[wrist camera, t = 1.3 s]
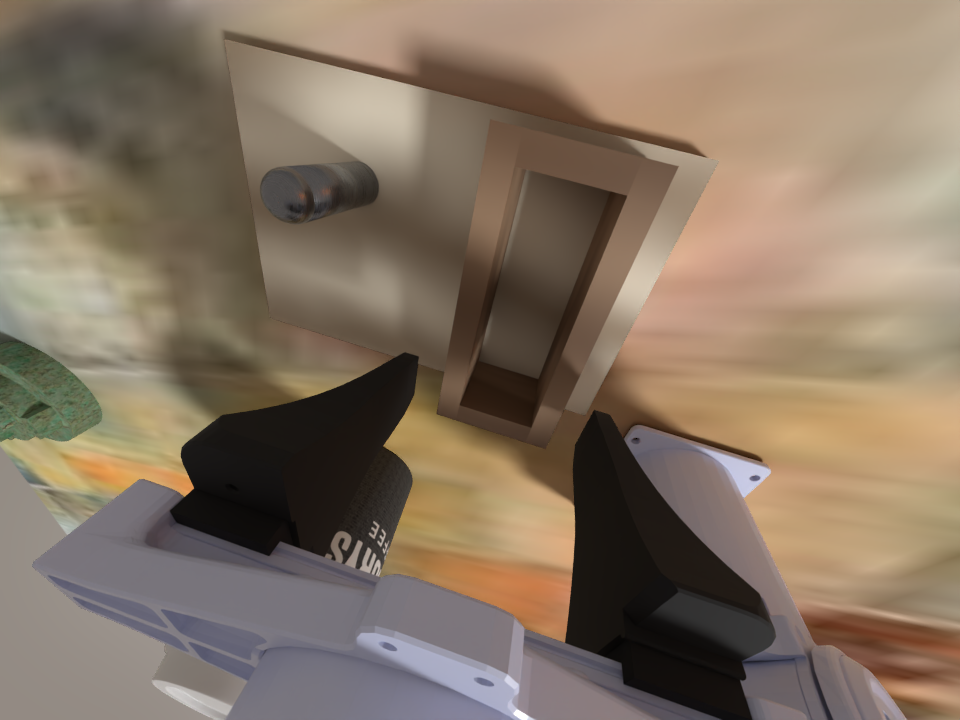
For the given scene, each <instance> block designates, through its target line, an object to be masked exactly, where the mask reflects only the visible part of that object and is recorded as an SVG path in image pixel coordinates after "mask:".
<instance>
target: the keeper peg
mask: <svg viewBox="0 0 960 720" xmlns="http://www.w3.org/2000/svg"><path fill="white" fill-rule="evenodd" d="M378 192H379V183H378V179H377V177H376V175H375V173H374V171H373V170H372V169H371V168H370V167H369V166H368V165H367V164H365V163H363V162H359V161H353V162H339V163H324V164H310V165H296V166H282V167H276V168H273V169H271V170H270V171H268V172H267V173H266V174H265V175H264V177H263V178H262V180H261V184H260V195H261V199H262V202H263V204H264V206H265V207H266V209H267V210H268V211H269V212H270V213H271V214H272V215H273V216H274V217H276V218H277V219H279V220H280V221H282V222H285V223H288V224H296V225H298V224H304V223H307V222H311V221H314V220H317V219H321V218H324V217H328V216H331V215H335V214H338V213H342V212H345V211H349V210H352V209H355V208H359V207H362V206H366V205H369V204H371V203H373V202H374V201H375V200H376V198H377V196H378Z"/></svg>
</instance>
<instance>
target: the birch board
mask: <svg viewBox="0 0 960 720" xmlns="http://www.w3.org/2000/svg"><path fill="white" fill-rule="evenodd" d="M224 42H225V48H226V54H227V60H228V66H229V72H230V78H231V84H232V90H233V96H234V102H235V108H236V114H237V120H238V126H239V132H240V138H241V144H242V150H243V156H244V163H245V169H246V175H247V181H248V187H249V193H250V199H251V205H252V211H253V217H254V223H255V229H256V235H257V241H258V247H259V253H260V259H261V265H262V271H263V277H264V283H265V290H266V296H267V302H268V308H269V314H270V318H271V319H275V320H278V321H281V322H284V323H288V324H291V325H294V326H297V327H300V328H304V329H307V330H310V331H313V332H317V333H320V334H323V335H326V336H329V337H333V338H336V339H339V340H342V341H346V342H349V343H352V344H355V345H358V346H362V347H365V348H368V349H371V350H375V351H378V352H381V353H384V354H387V355H391V356H394V357H397V356H398V355H400V354H402V353H404V352H406V353H409V354H413V355H416V356H419V360H418V364H420V365H423V366H426V367H429V368H433V369H436V370H439V371H442V372H444V371H445V365H446V360H447V354H448V349H449V343H450V338H451V332H452V327H453V321H454V316H455V310H456V305H457V299H458V294H459V288H460V283H461V277H462V272H463V266H464V261H465V255H466V250H467V244H468V239H469V233H470V228H471V222H472V217H473V211H474V206H475V200H476V195H477V189H478V184H479V178H480V173H481V167H482V162H483V156H484V151H485V145H486V140H487V135H488V129H489V124H490V119H491V120H495V121H499V122H503V123H507V124H511V125H515V126H519V127H523V128H527V129H531V130H535V131H539V132H543V133H547V134H551V135H555V136H559V137H563V138H567V139H571V140H575V141H579V142H583V143H587V144H591V145H595V146H599V147H603V148H607V149H611V150H615V151H619V152H623V153H628V154H632V155H636V156H640V157H644V158H648V159H652V160H656V161H660V162H664V163H668V164H672V165H676V166H679V167H678V169H677V171H676V174H675V176H674V178H673V180H672V182H671V184H670V186H669V188H668V191H667V193H666V195H665V197H664V199H663V201H662V203H661V205H660V208H659V210H658V212H657V214H656V216H655V218H654V220H653V222H652V224H651V227H650V229H649V231H648V233H647V235H646V237H645V239H644V241H643V244H642V246H641V248H640V250H639V252H638V254H637V256H636V258H635V260H634V263H633V265H632V267H631V269H630V271H629V273H628V275H627V277H626V280H625V282H624V284H623V286H622V288H621V290H620V292H619V294H618V297H617V299H616V301H615V303H614V305H613V307H612V309H611V311H610V313H609V316H608V318H607V320H606V322H605V324H604V326H603V328H602V330H601V333H600V335H599V337H598V339H597V341H596V343H595V345H594V347H593V350H592V352H591V354H590V356H589V358H588V360H587V362H586V364H585V366H584V369H583V371H582V373H581V375H580V377H579V379H578V381H577V383H576V386H575V388H574V390H573V392H572V394H571V396H570V398H569V400H568V403H567V405H566V407H565V410H568V411H571V412H574V413H578V414H581V415H584V416H585V415H586V413H587V411H588V409H589V407H590V405H591V403H592V402H593V400H594V398H595V396H596V394H597V392H598V390H599V388H600V386H601V384H602V383H603V381H604V379H605V377H606V375H607V373H608V371H609V369H610V367H611V366H612V364H613V362H614V360H615V358H616V356H617V354H618V352H619V350H620V348H621V347H622V345H623V343H624V341H625V339H626V337H627V335H628V333H629V331H630V329H631V328H632V326H633V324H634V322H635V320H636V318H637V316H638V314H639V312H640V310H641V309H642V307H643V305H644V303H645V301H646V299H647V297H648V295H649V293H650V291H651V290H652V288H653V286H654V284H655V282H656V280H657V278H658V276H659V274H660V273H661V271H662V269H663V267H664V265H665V263H666V261H667V259H668V257H669V255H670V254H671V252H672V250H673V248H674V246H675V244H676V242H677V240H678V238H679V236H680V235H681V233H682V231H683V229H684V227H685V225H686V223H687V221H688V219H689V217H690V216H691V214H692V212H693V210H694V208H695V206H696V204H697V202H698V200H699V198H700V197H701V195H702V193H703V191H704V189H705V187H706V185H707V183H708V181H709V179H710V178H711V176H712V174H713V172H714V170H715V168H716V166H717V164H718V162H719V161H718V160H714V159H710V158H706V157H702V156H698V155H694V154H690V153H685V152H681V151H677V150H673V149H669V148H665V147H661V146H657V145H653V144H649V143H645V142H641V141H637V140H633V139H629V138H625V137H620V136H616V135H612V134H608V133H604V132H600V131H596V130H592V129H588V128H584V127H580V126H576V125H572V124H568V123H564V122H560V121H555V120H551V119H547V118H543V117H539V116H535V115H531V114H527V113H523V112H519V111H515V110H511V109H507V108H503V107H499V106H495V105H490V104H486V103H482V102H478V101H474V100H470V99H466V98H462V97H458V96H454V95H450V94H446V93H442V92H438V91H434V90H430V89H425V88H421V87H417V86H413V85H409V84H405V83H401V82H397V81H393V80H389V79H385V78H381V77H377V76H373V75H369V74H365V73H360V72H356V71H352V70H348V69H344V68H340V67H336V66H332V65H328V64H324V63H320V62H316V61H312V60H308V59H304V58H299V57H295V56H291V55H287V54H283V53H279V52H275V51H271V50H267V49H263V48H259V47H255V46H251V45H247V44H243V43H239V42H234V41H230V40H226V39H224ZM353 161H359V162H363V163H365V164H367V165H368V166H369V167H370V168H371V169H372V170H373V171H374V173H375V175H376V177H377V179H378V183H379V192H378V196H377V198H376V200H375V201H374V202H373V203H371V204H369V205H366V206H362V207H359V208H355V209H352V210H349V211H345V212H342V213H338V214H335V215H331V216H328V217H324V218H321V219H317V220H314V221H311V222H307V223H304V224H298V225H296V224H288V223H285V222H282V221H280V220H279V219H277V218H276V217H274V216H273V215H272V214H271V213H270V212H269V211H268V210H267V209H266V207H265V206H264V204H263V202H262V199H261V195H260V184H261V180H262V178H263V177H264V175H265V174H266V173H267V172H268V171H270V170H271V169H273V168H276V167H282V166H296V165H310V164H324V163H339V162H353ZM610 192H611V191H607V190H604V189H600V188H596V187H592V186H588V185H584V184H580V183H577V182H573V181H569V180H565V179H561V178H557V177H553V176H549V175H546V174H542V173H538V172H534V171H530V170H526V173H525V177H524V181H523V185H522V189H521V193H520V197H519V201H518V205H517V209H516V213H515V217H514V221H513V225H512V229H511V233H510V237H509V241H508V245H507V249H506V253H505V257H504V261H503V265H502V269H501V273H500V277H499V281H498V285H497V289H496V293H495V297H494V301H493V305H492V309H491V313H490V317H489V321H488V325H487V329H486V333H485V337H484V341H483V345H482V349H481V354H480V358H479V361H481V362H484V363H487V364H490V365H494V366H497V367H500V368H504V369H507V370H510V371H513V372H517V373H520V374H523V375H527V376H530V377H533V378H536V379H539V376H540V373H541V371H542V368H543V366H544V363H545V361H546V358H547V355H548V353H549V350H550V348H551V345H552V342H553V340H554V337H555V335H556V332H557V329H558V327H559V324H560V322H561V319H562V316H563V314H564V311H565V309H566V306H567V303H568V301H569V298H570V296H571V293H572V291H573V288H574V285H575V283H576V280H577V278H578V275H579V272H580V270H581V267H582V265H583V262H584V259H585V257H586V254H587V252H588V249H589V246H590V244H591V241H592V239H593V236H594V233H595V231H596V228H597V226H598V223H599V221H600V218H601V215H602V213H603V210H604V208H605V205H606V202H607V200H608V197H609V195H610Z"/></svg>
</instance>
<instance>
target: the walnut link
mask: <svg viewBox="0 0 960 720" xmlns="http://www.w3.org/2000/svg"><path fill="white" fill-rule="evenodd" d="M678 167H679V166H676V165H672V164H668V163H664V162H660V161H656V160H652V159H648V158H644V157H640V156H636V155H632V154H628V153H623V152H619V151H615V150H611V149H607V148H603V147H599V146H595V145H591V144H587V143H583V142H579V141H575V140H571V139H567V138H563V137H559V136H555V135H551V134H547V133H543V132H539V131H535V130H531V129H527V128H523V127H519V126H515V125H511V124H507V123H503V122H499V121H495V120H491V119H490V124H489V129H488V135H487V140H486V145H485V151H484V156H483V162H482V167H481V173H480V178H479V184H478V189H477V195H476V200H475V206H474V211H473V217H472V222H471V228H470V233H469V239H468V244H467V250H466V255H465V261H464V266H463V272H462V277H461V283H460V288H459V294H458V299H457V305H456V310H455V316H454V321H453V327H452V332H451V338H450V343H449V349H448V354H447V360H446V365H445V371H444V376H443V382H442V387H441V393H440V398H439V404H438V409H437V414H438V415H441V416H444V417H447V418H450V419H454V420H457V421H460V422H463V423H466V424H469V425H472V426H475V427H479V428H482V429H485V430H488V431H491V432H494V433H497V434H500V435H503V436H507V437H510V438H513V439H516V440H519V441H522V442H525V443H528V444H532V445H535V446H538V447H541V448H544V449H546V447H547V445H548V443H549V441H550V439H551V436H552V434H553V432H554V430H555V428H556V426H557V424H558V422H559V419H560V417H561V415H562V413H563V411H564V409H565V407H566V405H567V403H568V400H569V398H570V396H571V394H572V392H573V390H574V388H575V386H576V383H577V381H578V379H579V377H580V375H581V373H582V371H583V369H584V366H585V364H586V362H587V360H588V358H589V356H590V354H591V352H592V350H593V347H594V345H595V343H596V341H597V339H598V337H599V335H600V333H601V330H602V328H603V326H604V324H605V322H606V320H607V318H608V316H609V313H610V311H611V309H612V307H613V305H614V303H615V301H616V299H617V297H618V294H619V292H620V290H621V288H622V286H623V284H624V282H625V280H626V277H627V275H628V273H629V271H630V269H631V267H632V265H633V263H634V260H635V258H636V256H637V254H638V252H639V250H640V248H641V246H642V244H643V241H644V239H645V237H646V235H647V233H648V231H649V229H650V227H651V224H652V222H653V220H654V218H655V216H656V214H657V212H658V210H659V208H660V205H661V203H662V201H663V199H664V197H665V195H666V193H667V191H668V188H669V186H670V184H671V182H672V180H673V178H674V176H675V174H676V171H677V169H678ZM526 170H530V171H534V172H538V173H542V174H546V175H549V176H553V177H557V178H561V179H565V180H569V181H573V182H577V183H580V184H584V185H588V186H592V187H596V188H600V189H604V190H607V191H611V192H610V195H609V197H608V200H607V202H606V205H605V208H604V210H603V213H602V215H601V218H600V221H599V223H598V226H597V228H596V231H595V233H594V236H593V239H592V241H591V244H590V246H589V249H588V252H587V254H586V257H585V259H584V262H583V265H582V267H581V270H580V272H579V275H578V278H577V280H576V283H575V285H574V288H573V291H572V293H571V296H570V298H569V301H568V303H567V306H566V309H565V311H564V314H563V316H562V319H561V322H560V324H559V327H558V329H557V332H556V335H555V337H554V340H553V342H552V345H551V348H550V350H549V353H548V355H547V358H546V361H545V363H544V366H543V368H542V371H541V373H540V376H539V379H536V378H533V377H530V376H527V375H523V374H520V373H517V372H513V371H510V370H507V369H504V368H500V367H497V366H494V365H490V364H487V363H484V362H481V361H479V358H480V354H481V349H482V345H483V341H484V337H485V333H486V329H487V325H488V321H489V317H490V313H491V309H492V305H493V301H494V297H495V293H496V289H497V285H498V281H499V277H500V273H501V269H502V265H503V261H504V257H505V253H506V249H507V245H508V241H509V237H510V233H511V229H512V225H513V221H514V217H515V213H516V209H517V205H518V201H519V197H520V193H521V189H522V185H523V181H524V177H525V173H526Z"/></svg>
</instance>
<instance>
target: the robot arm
mask: <svg viewBox="0 0 960 720" xmlns="http://www.w3.org/2000/svg"><path fill="white" fill-rule="evenodd" d="M418 360H419V356H416V355H413V354H409V353H406V352H404V353H402V354H400V355H398V356H397V357H395V358H393V359H392V360H390V361H388V362H386V363H385V364H383V365H381V366H379V367H378V368H376V369H374V370H372V371H370V372H368V373H366V374H365V375H363V376H361V377H359V378H356V379H354V380H352V381H350V382H348V383H346V384H344V385H341V386H339V387H337V388H334V389H331V390H329V391H326V392H323V393H321V394H318V395H314V396H311V397H308V398H304V399H301V400H298V401H294V402H291V403H287V404H282V405H278V406H274V407H269V408H264V409H259V410H253V411H247V412H240V413H234V414H227V415H222V416H220V417H219V418H218V419H216V420H215V421H214V422H212V423H211V424H210V425H208V426H207V427H206V428H205V429H203V430H202V431H201V432H200V433H198V434H197V435H196V436H194V437H193V438H192V439H191V440H189V441H188V442H187V443H186V444H185V445H184V446H183V447H182V450H181V458H182V462H183V465H184V467H185V469H186V471H187V473H188V475H189V478H190V480H191V482H192V484H193V486H194V489H193V490H192V491H191V492H190V493H189V494H188V495H186V496H185V497H184V496H183V495H181V494H180V493H179V492H177V491H175V490H173V489H170V488H168V487H165V486H162V485H159V484H156V483H153V482H151V481H148V480H145V479H139V480H138V481H137V482H135V483H134V484H133V485H131V486H130V487H129V488H128V489H126V490H125V491H124V492H122V493H121V494H120V495H119V496H117V497H116V498H115V499H113V500H112V501H111V502H110V503H108V504H107V505H106V506H104V507H103V508H102V509H101V510H99V511H98V512H97V513H95V514H94V515H93V516H92V517H90V518H89V519H88V520H86V521H85V522H84V523H83V524H81V525H80V526H79V527H77V528H76V529H75V530H74V531H72V532H71V533H70V534H68V535H67V536H66V537H65V538H63V539H62V540H61V541H59V542H58V543H57V544H56V545H54V546H53V547H52V548H50V549H49V550H48V551H47V552H45V553H44V554H43V555H41V556H40V557H39V558H38V559H36V560H35V561H34V562H33V564H32V567H33V568H34V569H35V570H37V571H38V572H39V573H40V574H41V575H43V576H44V577H45V578H46V579H47V580H48V581H49V582H51V583H52V584H53V585H54V586H55V587H57V588H58V589H59V590H60V591H61V592H63V593H64V594H65V595H66V596H67V597H68V598H69V599H71V600H72V601H73V602H74V603H76V604H77V605H78V606H79V607H81V608H83V609H85V610H87V611H90V612H92V613H95V614H97V615H100V616H102V617H105V618H107V619H110V620H112V621H115V622H117V623H119V624H122V625H124V626H126V627H129V628H131V629H133V630H136V631H138V632H140V633H143V634H145V635H147V636H149V637H151V638H153V639H156V640H158V641H160V642H162V643H164V644H167V645H169V646H171V647H173V648H175V649H177V650H180V651H182V652H184V653H186V654H188V655H190V656H192V657H195V658H197V659H199V660H201V661H203V662H205V663H208V664H210V665H212V666H214V667H216V668H218V669H220V670H223V671H225V672H227V673H229V674H231V675H233V676H235V677H238V678H240V679H242V680H244V681H246V682H247V683H246V685H245V686H244V688H243V690H242V691H241V693H240V695H239V696H238V698H237V700H236V701H235V703H234V705H233V706H232V708H231V710H230V711H229V713H228V715H227V716H226V718H225V720H907V719H906V718H905V716H904V715H903V713H902V712H901V710H900V709H899V708H898V706H897V705H896V703H895V702H894V701H893V699H892V698H891V697H890V695H889V694H888V693H887V691H886V690H885V689H884V687H883V686H882V685H881V684H880V682H879V681H878V680H877V679H876V677H875V676H874V675H873V674H872V673H871V672H870V671H869V670H868V669H867V668H865V667H864V666H862V665H860V664H859V663H857V662H856V661H854V660H852V659H851V658H849V657H847V656H846V655H845V654H844V653H843V652H842V651H841V650H839V649H837V648H836V647H834V646H830V645H825V646H817V645H816V644H815V643H814V642H813V640H812V637H811V635H810V633H809V631H808V629H807V627H806V625H805V623H804V621H803V619H802V617H801V615H800V613H799V611H798V609H797V607H796V605H795V603H794V601H793V599H792V597H791V594H790V592H789V590H788V588H787V586H786V584H785V582H784V580H783V578H782V576H781V574H780V572H779V570H778V568H777V566H776V564H775V562H774V560H773V558H772V556H771V554H770V551H769V549H768V547H767V545H766V543H765V541H764V539H763V537H762V535H761V533H760V531H759V529H758V527H757V525H756V523H755V521H754V519H753V517H752V515H751V513H750V510H749V508H748V506H747V504H746V502H745V500H744V497H746V496H747V495H748V494H749V493H750V492H751V491H752V490H753V489H754V488H755V487H757V486H758V485H759V484H760V483H761V482H762V481H763V480H764V479H765V478H767V477H768V476H769V475H770V473H771V470H770V468H769V467H768V465H767V464H765V463H763V462H760V461H756V460H753V459H750V458H747V457H743V456H740V455H737V454H734V453H730V452H727V451H724V450H721V449H717V448H714V447H711V446H708V445H704V444H701V443H698V442H695V441H692V440H688V439H685V438H682V437H679V436H675V435H672V434H669V433H666V432H662V431H659V430H656V429H653V428H649V427H646V426H643V425H635V426H633V427H632V428H631V429H630V430H629V432H628V433H627V435H626V436H625V438H624V439H623V437H622V435H621V433H620V432H619V430H618V428H617V426H616V425H615V423H614V421H613V419H612V418H611V416H610V415H609V414H606V413H603V412H599V411H596V410H594V411H593V413H592V415H591V417H590V419H589V420H588V422H587V424H586V426H585V428H584V430H583V431H582V433H581V435H580V437H579V439H578V441H577V443H576V444H575V451H574V461H573V485H574V506H575V546H574V562H573V574H572V587H571V596H570V606H569V616H568V624H567V632H566V640H565V643H563V642H561V641H558V640H555V639H552V638H549V637H547V636H544V635H541V634H538V633H535V632H533V631H530V630H527V629H524V627H523V626H522V624H521V623H520V622H519V621H518V620H517V619H516V618H515V617H514V616H513V615H512V614H511V613H509V612H507V611H505V610H503V609H501V608H499V607H497V606H494V605H491V604H488V603H485V602H482V601H480V600H477V599H474V598H471V597H468V596H466V595H463V594H460V593H457V592H454V591H451V590H449V589H446V588H443V587H440V586H437V585H434V584H432V583H429V582H426V581H423V580H420V579H418V578H414V577H410V576H405V575H401V574H394V575H386V576H383V577H378V576H376V575H373V574H370V573H367V572H364V571H362V570H359V569H356V568H353V567H350V566H348V565H345V564H342V563H339V562H336V561H334V560H331V559H328V558H325V555H326V553H327V551H328V549H329V547H330V544H331V542H332V540H333V538H334V536H335V534H336V532H337V530H338V528H339V526H340V524H341V522H342V520H343V517H344V515H345V513H346V511H347V509H348V507H349V505H350V503H351V501H352V500H353V498H354V496H355V494H356V492H357V490H358V488H359V486H360V484H361V482H362V480H363V478H364V477H365V475H366V473H367V471H368V469H369V467H370V465H371V464H372V462H373V461H374V459H375V457H376V456H377V454H378V453H379V451H380V450H381V448H382V447H383V445H384V444H385V442H386V441H387V439H388V438H389V437H390V435H391V434H392V432H393V431H394V429H395V428H396V426H397V425H398V423H399V422H400V420H401V419H402V417H403V416H404V414H405V412H406V410H407V408H408V406H409V404H410V402H411V400H412V398H413V396H414V392H415V384H416V376H417V368H418ZM633 438H638V439H636V440H634V439H633ZM753 475H755V476H753Z"/></svg>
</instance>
